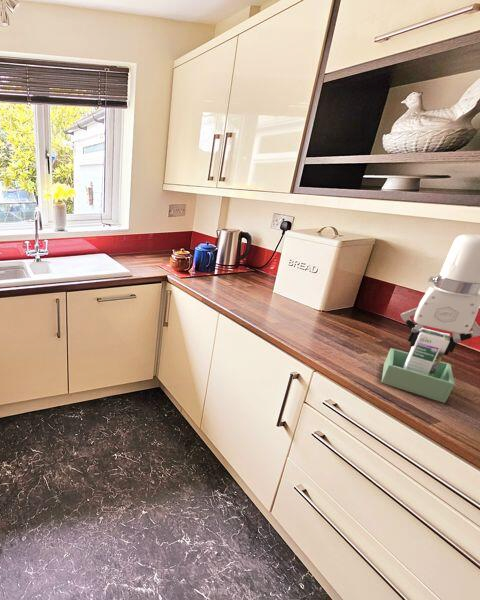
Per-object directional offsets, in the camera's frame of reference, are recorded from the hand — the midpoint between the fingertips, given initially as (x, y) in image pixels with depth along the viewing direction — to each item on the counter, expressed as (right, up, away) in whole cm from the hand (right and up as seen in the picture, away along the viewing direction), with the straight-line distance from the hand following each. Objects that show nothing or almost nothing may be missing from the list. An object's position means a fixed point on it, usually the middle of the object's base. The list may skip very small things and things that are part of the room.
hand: (428, 348), depth 90 cm
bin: (0, -10, +4) cm, 11 cm away
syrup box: (0, -9, +4) cm, 10 cm away
